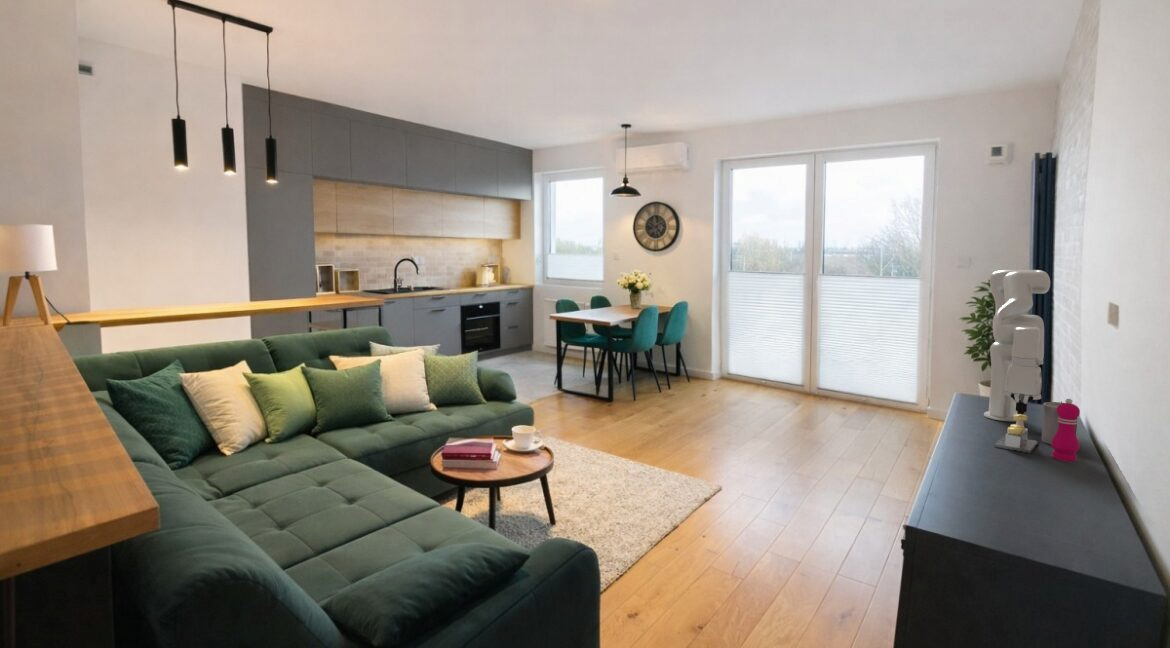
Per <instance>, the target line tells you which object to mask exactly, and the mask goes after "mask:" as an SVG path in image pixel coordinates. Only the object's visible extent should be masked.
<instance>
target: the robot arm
mask: <svg viewBox="0 0 1170 648" xmlns="http://www.w3.org/2000/svg"><path fill="white" fill-rule="evenodd" d="M989 284H990V285H989V286H990V291H991V294H992V297H993V300H994V302H995V314H994V315H993V318H992V334H993V339H994V342H993V343H992V344H991V345H990V350H989V354H990V363H991V365H990V366H991V368H990V369H991V372H990V373H991V374H990V388H989V399H988V401H989V403H988V411H985V412H984V413H983V416H984V417H985V418H987V419H990V420H995V421H1000V422H1016V420H1015V419H1013V417H1014V414H1022V415H1025V413H1026V412H1027V410H1028V403H1029V402H1031V401H1032V400H1033V401H1034V400H1035V401H1037V400H1041V399H1042V395H1041V392H1042V385H1043V384H1042V382H1043V381H1042V369H1041V367H1040V366H1041V365H1044V357H1045V356H1044V354H1045V325H1044V320H1043V318H1042V317H1041V316H1040V315H1037V314H1024V313H1026V312H1029V310H1031V309H1032V308H1033V305H1034V301H1033V294H1038V295H1039V294H1040V295H1041V294H1043V295H1045V294H1046V293H1047V292H1049V290H1050V288H1051V280H1050V276H1049V274H1048V273H1047V272H1046V271H1044V270H1041V269H1001V270H996V271H994V272H992V273H991V275H990V277H989ZM1021 395H1022V396H1023V395H1024V397H1023V400H1021Z"/></svg>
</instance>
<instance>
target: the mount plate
mask: <svg viewBox="0 0 1170 648" xmlns="http://www.w3.org/2000/svg"><path fill="white" fill-rule="evenodd" d="M1028 430H1029V428H1025V427H1024V431H1022V434H1018V436H1014V435H1010V433H1008V432H1007V433H1005V435H1002V436H1001V437H1000V438H999V439H998V440H997V442H995V443H994V447H995V448H996V449H997V448H999V449H1004V450H1008V449H1009V450H1010V451H1014V450H1017V451H1016V452H1019V451H1023V452H1022V453H1025V452H1028V453H1027V454H1031V452H1032V451H1033V450H1034V449H1035V448H1036V445H1037V444H1038V441H1037V440H1034V439H1033V440H1032V439H1028V434H1029V433H1028ZM1009 450H1008V451H1009Z"/></svg>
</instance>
